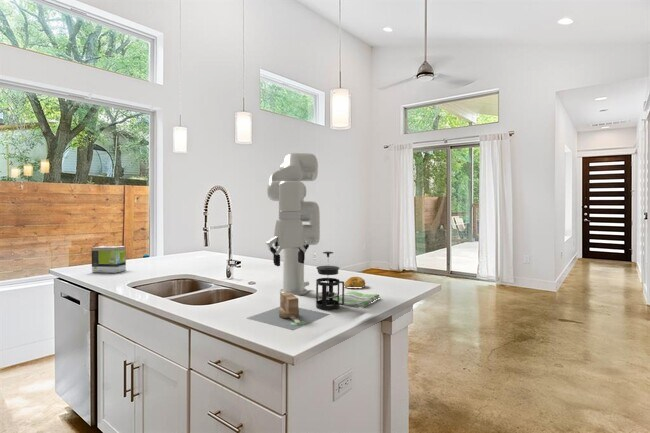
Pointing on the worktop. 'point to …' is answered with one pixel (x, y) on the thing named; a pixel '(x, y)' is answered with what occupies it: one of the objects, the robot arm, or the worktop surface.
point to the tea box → (108, 259)
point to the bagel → (355, 282)
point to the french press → (325, 294)
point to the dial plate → (288, 323)
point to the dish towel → (357, 299)
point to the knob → (289, 306)
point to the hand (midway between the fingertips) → (289, 264)
